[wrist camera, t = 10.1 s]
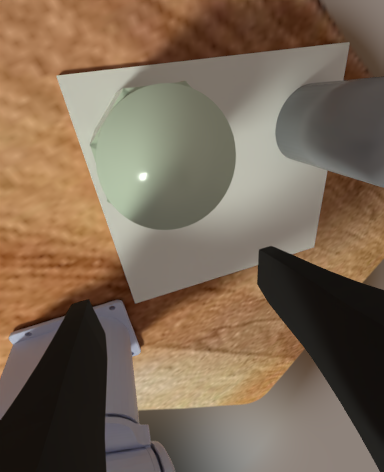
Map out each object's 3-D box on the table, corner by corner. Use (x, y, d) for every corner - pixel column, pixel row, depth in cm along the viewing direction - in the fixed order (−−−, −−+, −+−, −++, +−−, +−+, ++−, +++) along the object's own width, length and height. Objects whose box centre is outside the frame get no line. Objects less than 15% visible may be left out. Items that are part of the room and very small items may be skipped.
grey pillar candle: (273, 165, 20) (356, 197, 13) (277, 88, 17) (386, 79, 11) (328, 153, 21) (430, 176, 15) (341, 78, 18) (475, 65, 12)
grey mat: (134, 300, 23) (135, 303, 23) (57, 76, 14) (56, 75, 13) (311, 245, 27) (313, 247, 27) (345, 43, 18) (350, 41, 17)
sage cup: (113, 188, 17) (118, 244, 10) (86, 97, 14) (70, 92, 7) (188, 173, 18) (237, 214, 12) (178, 86, 15) (235, 73, 9)
